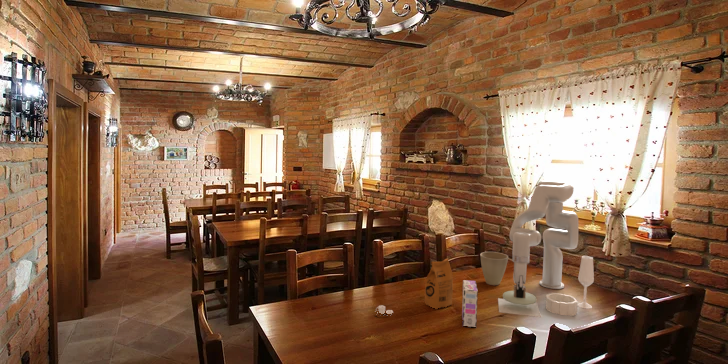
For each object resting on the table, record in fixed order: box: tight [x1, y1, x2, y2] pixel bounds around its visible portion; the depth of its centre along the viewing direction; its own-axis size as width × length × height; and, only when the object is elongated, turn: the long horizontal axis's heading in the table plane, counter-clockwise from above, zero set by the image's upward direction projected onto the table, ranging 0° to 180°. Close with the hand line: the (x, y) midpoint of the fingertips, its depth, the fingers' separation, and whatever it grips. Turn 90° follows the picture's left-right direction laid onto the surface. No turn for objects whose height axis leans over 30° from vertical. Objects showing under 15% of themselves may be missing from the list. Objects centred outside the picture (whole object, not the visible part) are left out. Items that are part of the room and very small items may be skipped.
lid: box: [502, 284, 537, 305], centre depth 201 cm, size 15×15×6 cm
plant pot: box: [479, 251, 509, 286], centre depth 236 cm, size 15×15×16 cm
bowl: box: [545, 292, 579, 317], centre depth 199 cm, size 13×13×6 cm
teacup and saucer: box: [375, 305, 394, 315], centre depth 192 cm, size 9×8×4 cm
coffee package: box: [424, 258, 454, 310], centre depth 204 cm, size 10×12×22 cm
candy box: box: [461, 279, 479, 328], centre depth 185 cm, size 14×6×16 cm, turn 168°
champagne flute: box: [577, 255, 595, 309], centre depth 204 cm, size 7×7×24 cm
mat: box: [497, 297, 542, 318], centre depth 201 cm, size 18×18×1 cm
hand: (519, 295), depth 201 cm, fingers closed on lid, 3 cm apart
